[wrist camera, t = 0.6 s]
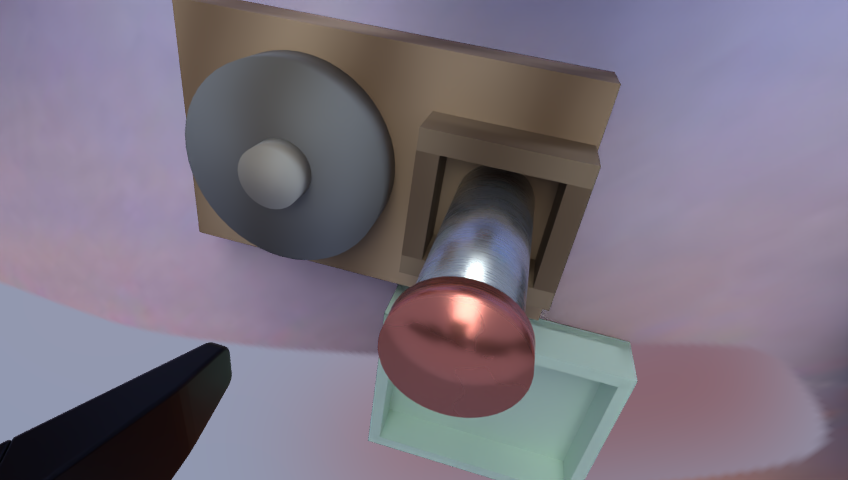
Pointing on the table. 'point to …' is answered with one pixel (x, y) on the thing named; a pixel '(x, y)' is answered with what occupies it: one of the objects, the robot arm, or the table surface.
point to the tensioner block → (376, 137)
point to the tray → (522, 412)
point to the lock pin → (469, 305)
